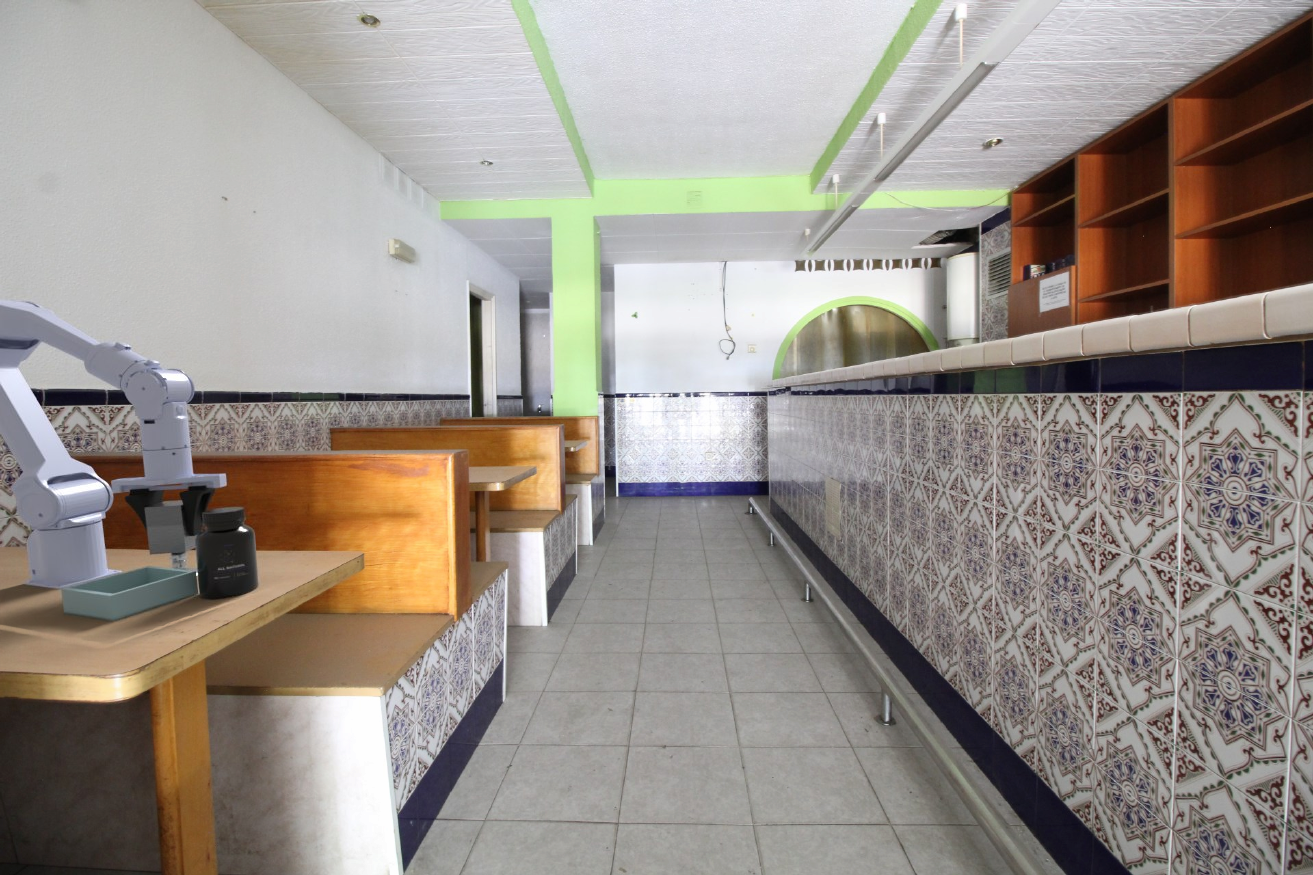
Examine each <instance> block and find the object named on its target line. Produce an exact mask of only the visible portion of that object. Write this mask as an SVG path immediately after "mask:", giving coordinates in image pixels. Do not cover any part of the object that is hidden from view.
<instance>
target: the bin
mask: <svg viewBox="0 0 1313 875" xmlns="http://www.w3.org/2000/svg"><path fill="white" fill-rule="evenodd" d="M60 591H61V597H62V598H61V599H62V606H63V614H66V615H71V616H78V617H85V618H90V619H97V620H102V621H103V620H104V621H110V622H115V621H118V620H119V621H120V620H121V619H126V618H128V617H131V616H134V615H138V614H140V613H144V612H146V611H149V610H152V609H156V608H159V607H162V606H164V605H168V604H171V603H175V602H178V601H180V600H184V599H187V598H189V597H193V596H196V595H199V584H198V575H196V571H190V570H181V569H172V567H161V566H154V565H147V566H144V567H141V568H136V569H131V570H128V571H125V572H122V573H119V574H115V575H112V576H108V577H104V578H100V579H96V580H93V581H89V582H85V583H81V584H77V585H74V586H70V587H66V588H62V589H60Z"/></svg>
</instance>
